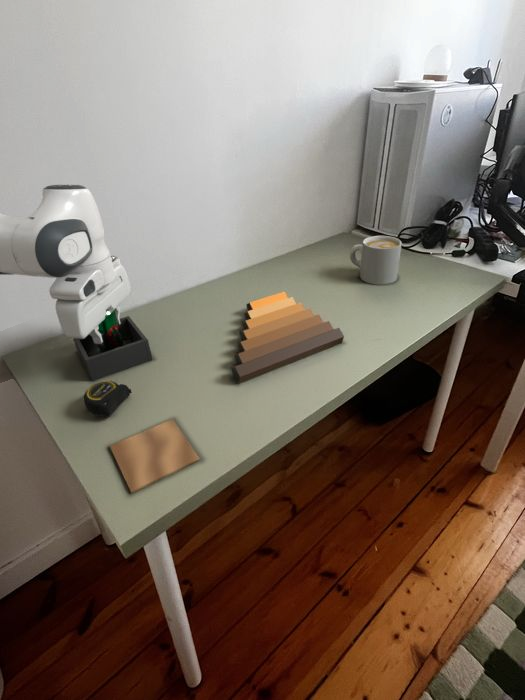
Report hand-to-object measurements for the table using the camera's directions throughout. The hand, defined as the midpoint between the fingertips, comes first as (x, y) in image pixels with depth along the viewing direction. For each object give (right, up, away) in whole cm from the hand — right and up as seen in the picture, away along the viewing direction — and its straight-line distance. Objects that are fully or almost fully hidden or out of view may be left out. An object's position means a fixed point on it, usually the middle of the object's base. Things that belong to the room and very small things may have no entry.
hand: (107, 333), depth 90 cm
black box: (0, -5, +3) cm, 6 cm away
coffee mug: (+63, +17, +31) cm, 72 cm away
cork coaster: (+15, -20, -21) cm, 33 cm away
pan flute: (+33, -1, +7) cm, 33 cm away
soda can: (0, -5, +3) cm, 6 cm away
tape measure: (+4, -14, -11) cm, 18 cm away
